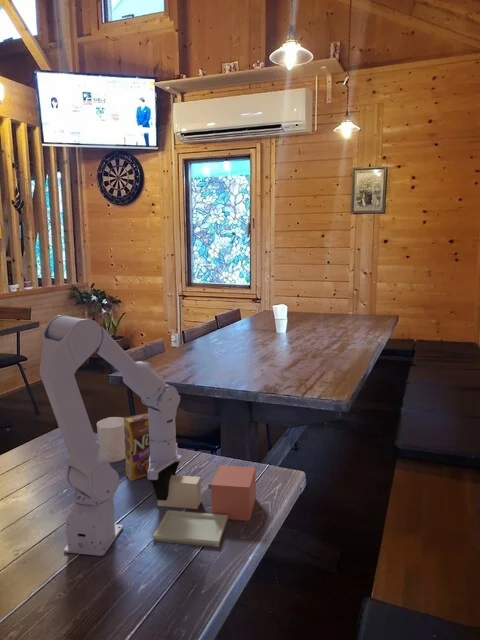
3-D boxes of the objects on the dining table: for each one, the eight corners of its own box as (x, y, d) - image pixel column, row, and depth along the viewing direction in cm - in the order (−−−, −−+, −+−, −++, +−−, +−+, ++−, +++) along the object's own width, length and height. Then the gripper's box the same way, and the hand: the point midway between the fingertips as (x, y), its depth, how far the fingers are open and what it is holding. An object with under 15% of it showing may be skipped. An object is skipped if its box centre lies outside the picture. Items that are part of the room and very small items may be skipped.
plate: (218, 547, 91) (218, 541, 91) (153, 541, 93) (152, 535, 93) (228, 520, 100) (227, 515, 100) (167, 515, 102) (167, 510, 102)
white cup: (135, 455, 132) (133, 420, 131) (113, 466, 126) (111, 429, 124) (114, 449, 136) (112, 415, 135) (92, 459, 130) (90, 424, 128)
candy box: (131, 482, 117) (128, 422, 115) (125, 475, 120) (122, 416, 118) (165, 472, 122) (163, 414, 119) (158, 466, 125) (155, 409, 123)
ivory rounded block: (197, 509, 104) (196, 484, 104) (157, 505, 106) (156, 481, 105) (201, 501, 108) (200, 477, 107) (162, 498, 109) (161, 474, 108)
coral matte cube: (249, 520, 100) (249, 487, 99) (209, 517, 101) (208, 484, 100) (255, 498, 108) (255, 467, 107) (218, 495, 110) (217, 465, 109)
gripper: (169, 451, 97) (172, 514, 99) (189, 425, 111) (191, 480, 113) (136, 449, 98) (139, 511, 101) (160, 424, 113) (162, 478, 115)
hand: (164, 495), depth 107 cm, fingers closed on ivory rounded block, 3 cm apart
